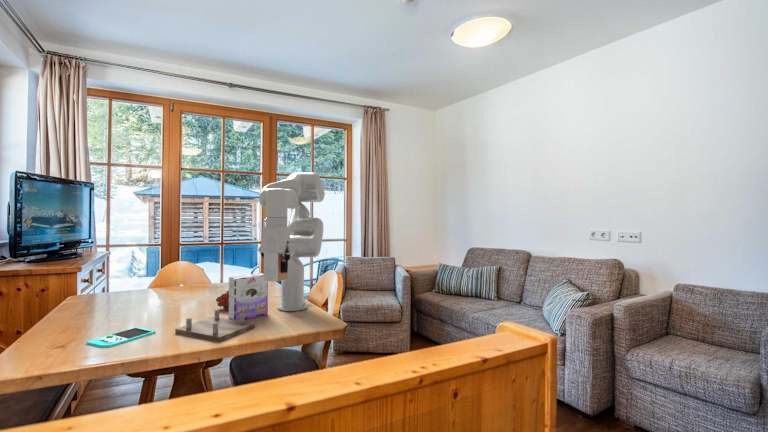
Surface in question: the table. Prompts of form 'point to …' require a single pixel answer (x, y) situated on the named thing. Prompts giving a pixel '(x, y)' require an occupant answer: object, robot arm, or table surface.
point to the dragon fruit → (223, 300)
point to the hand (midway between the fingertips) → (276, 271)
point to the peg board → (222, 329)
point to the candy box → (248, 296)
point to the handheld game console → (121, 337)
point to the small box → (273, 267)
